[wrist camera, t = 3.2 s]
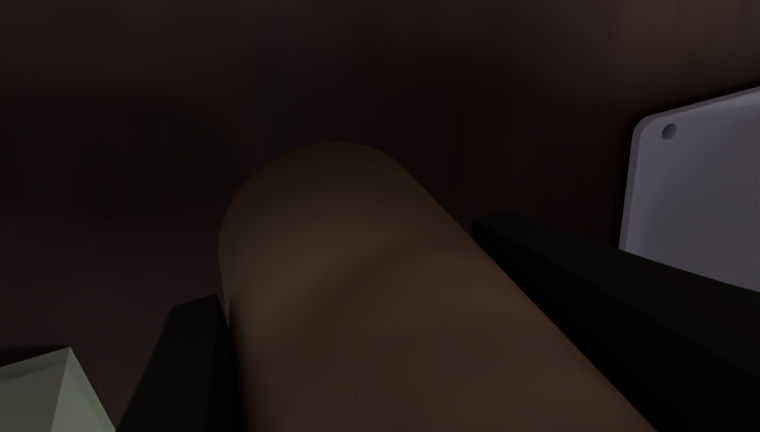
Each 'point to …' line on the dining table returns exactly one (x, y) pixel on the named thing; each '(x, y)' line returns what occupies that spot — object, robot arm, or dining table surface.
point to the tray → (50, 396)
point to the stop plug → (387, 312)
